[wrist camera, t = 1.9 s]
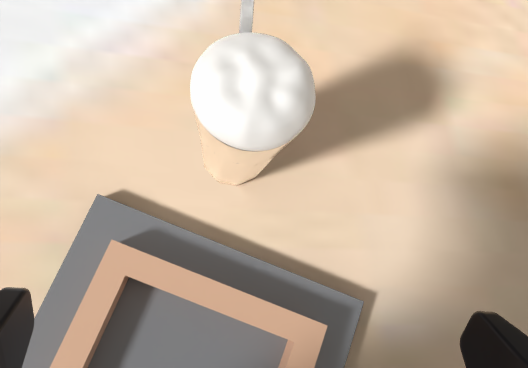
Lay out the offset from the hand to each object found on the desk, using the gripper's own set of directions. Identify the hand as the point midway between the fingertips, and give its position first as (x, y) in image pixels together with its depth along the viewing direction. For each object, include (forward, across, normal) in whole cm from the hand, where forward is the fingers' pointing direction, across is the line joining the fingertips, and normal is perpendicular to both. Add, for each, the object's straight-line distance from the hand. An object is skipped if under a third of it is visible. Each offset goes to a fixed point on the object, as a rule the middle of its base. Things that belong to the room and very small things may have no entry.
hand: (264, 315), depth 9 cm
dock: (+7, +2, +12) cm, 14 cm away
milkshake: (+15, 0, +4) cm, 16 cm away
